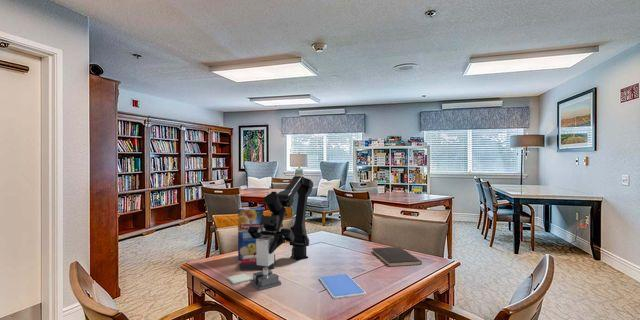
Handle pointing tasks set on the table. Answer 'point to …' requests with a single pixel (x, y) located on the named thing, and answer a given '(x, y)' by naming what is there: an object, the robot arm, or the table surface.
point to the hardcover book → (396, 256)
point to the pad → (239, 278)
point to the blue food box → (246, 220)
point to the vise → (265, 279)
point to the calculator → (252, 263)
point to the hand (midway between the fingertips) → (263, 252)
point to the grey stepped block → (264, 251)
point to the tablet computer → (341, 286)
